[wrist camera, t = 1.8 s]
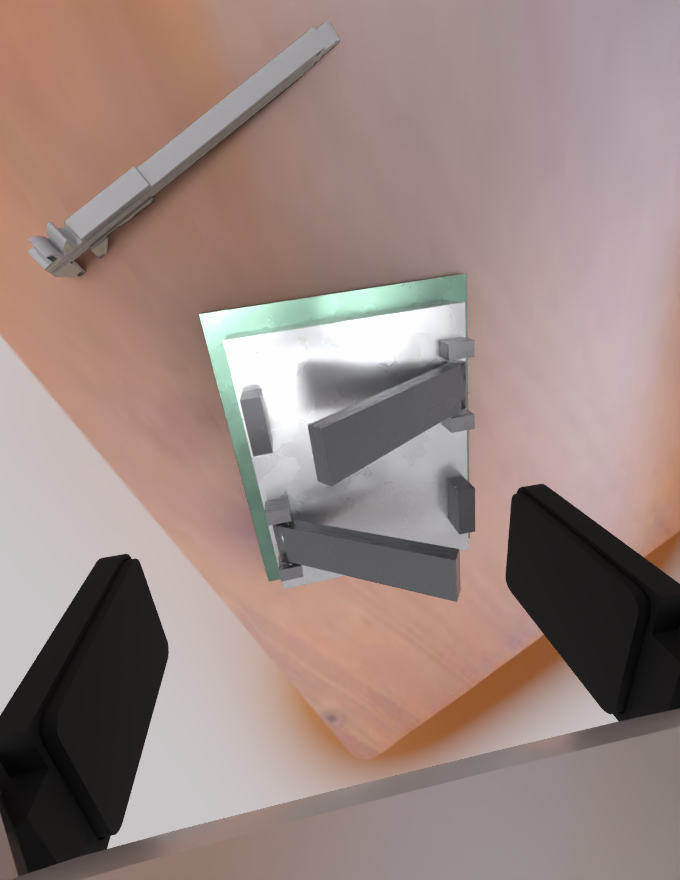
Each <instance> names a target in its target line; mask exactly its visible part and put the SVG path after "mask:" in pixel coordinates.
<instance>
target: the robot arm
mask: <svg viewBox="0 0 680 880" xmlns="http://www.w3.org/2000/svg"><path fill="white" fill-rule="evenodd" d="M506 582H507V585H508V587H509V589H510V591H511V592H512V594H513V595H514V596H515V597H516V599H517V600H518V601H519V603H520V604H521V605H522V606H523V608H524V609H525V610H526V612H527V613H528V614H529V615H530V617H531V618H532V619H533V621H534V622H535V623H536V624H537V626H538V627H539V628H540V630H541V631H542V632H543V633H544V635H545V636H546V637H547V638H548V640H549V641H550V642H551V644H552V645H553V646H554V648H555V649H556V650H557V651H558V653H559V654H560V655H561V657H562V658H563V659H564V660H565V662H566V663H567V664H568V666H569V667H570V668H571V669H572V671H573V672H574V673H575V675H576V676H577V677H578V679H579V680H580V681H581V682H582V683H583V685H584V686H585V688H586V689H587V690H588V691H589V693H590V694H591V695H592V696H593V698H594V699H595V700H596V702H597V703H598V704H599V706H600V707H601V708H602V709H603V710H604V711H606V712H607V713H609V714H613V715H614V716H615V717H616V719H617V720H618V721H619V722H615V723H611V724H607V725H603V726H599V727H594V728H591V729H586V730H582V731H578V732H574V733H570V734H565V735H561V736H557V737H552V738H548V739H544V740H540V741H536V742H532V743H528V744H523V745H519V746H515V747H511V748H506V749H502V750H498V751H494V752H490V753H486V754H482V755H477V756H473V757H469V758H465V759H461V760H457V761H453V762H449V763H445V764H441V765H437V766H432V767H429V768H424V769H420V770H416V771H412V772H408V773H404V774H400V775H396V776H392V777H388V778H384V779H380V780H376V781H372V782H367V783H363V784H359V785H356V786H352V787H347V788H343V789H339V790H335V791H331V792H327V793H323V794H319V795H315V796H311V797H307V798H303V799H299V800H295V801H291V802H287V803H283V804H279V805H276V806H271V807H267V808H263V809H260V810H256V811H251V812H248V813H243V814H239V815H236V816H231V817H227V818H223V819H220V820H216V821H212V822H208V823H204V824H200V825H196V826H192V827H188V828H184V829H180V830H176V831H172V832H169V833H165V834H161V835H158V836H154V837H151V838H147V839H144V840H140V841H136V842H132V843H128V844H125V845H121V846H117V847H114V848H110V849H107V846H108V843H109V839H110V836H111V835H115V834H116V833H117V832H118V831H119V829H120V827H121V825H122V822H123V819H124V815H125V811H126V808H127V804H128V801H129V797H130V793H131V790H132V786H133V782H134V779H135V775H136V772H137V768H138V764H139V761H140V757H141V754H142V750H143V746H144V743H145V739H146V736H147V732H148V728H149V725H150V721H151V718H152V714H153V710H154V706H155V703H156V699H157V695H158V692H159V688H160V685H161V681H162V678H163V674H164V671H165V667H166V663H167V660H168V642H167V639H166V636H165V634H164V630H163V628H162V625H161V622H160V619H159V616H158V613H157V610H156V607H155V605H154V602H153V599H152V596H151V593H150V590H149V587H148V585H147V581H146V578H145V576H144V573H143V570H142V567H141V564H140V562H139V560H138V559H131V557H130V556H129V555H128V554H124V555H117V556H112V557H105V558H101V559H99V560H98V561H97V562H96V564H95V566H94V567H93V569H92V570H91V572H90V574H89V575H88V577H87V578H86V580H85V582H84V583H83V585H82V586H81V588H80V590H79V591H78V593H77V594H76V596H75V597H74V599H73V601H72V602H71V604H70V605H69V607H68V609H67V610H66V612H65V613H64V615H63V617H62V618H61V620H60V621H59V623H58V625H57V626H56V628H55V629H54V631H53V633H52V634H51V636H50V637H49V639H48V640H47V642H46V644H45V645H44V647H43V648H42V650H41V652H40V653H39V655H38V656H37V658H36V660H35V661H34V663H33V664H32V666H31V668H30V669H29V671H28V672H27V674H26V676H25V677H24V679H23V681H22V682H21V684H20V685H19V687H18V688H17V690H16V691H15V693H14V695H13V697H12V698H11V699H10V701H9V703H8V704H7V706H6V707H5V709H4V711H3V712H2V714H1V715H0V880H680V584H679V583H678V582H676V581H675V580H674V579H672V578H671V577H669V576H668V575H666V574H665V573H664V572H663V571H661V570H660V569H659V568H657V567H656V566H655V565H653V564H652V563H650V562H649V561H648V560H646V559H645V558H644V557H642V556H641V555H640V554H638V553H637V552H636V551H634V550H633V549H631V548H630V547H629V546H627V545H626V544H625V543H623V542H622V541H621V540H619V539H618V538H616V537H615V536H614V535H612V534H611V533H610V532H608V531H607V530H606V529H604V528H603V527H602V526H600V525H599V524H597V523H596V522H595V521H593V520H592V519H591V518H589V517H588V516H587V515H585V514H584V513H583V512H581V511H580V510H578V509H577V508H576V507H574V506H573V505H572V504H570V503H569V502H568V501H566V500H565V499H564V498H562V497H561V496H559V495H558V494H557V493H555V492H554V491H553V490H551V489H550V488H549V487H547V486H546V485H544V484H538V485H532V486H526V487H521V488H519V489H518V491H517V494H514V495H513V497H512V501H511V514H510V527H509V540H508V553H507V566H506Z"/></svg>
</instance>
